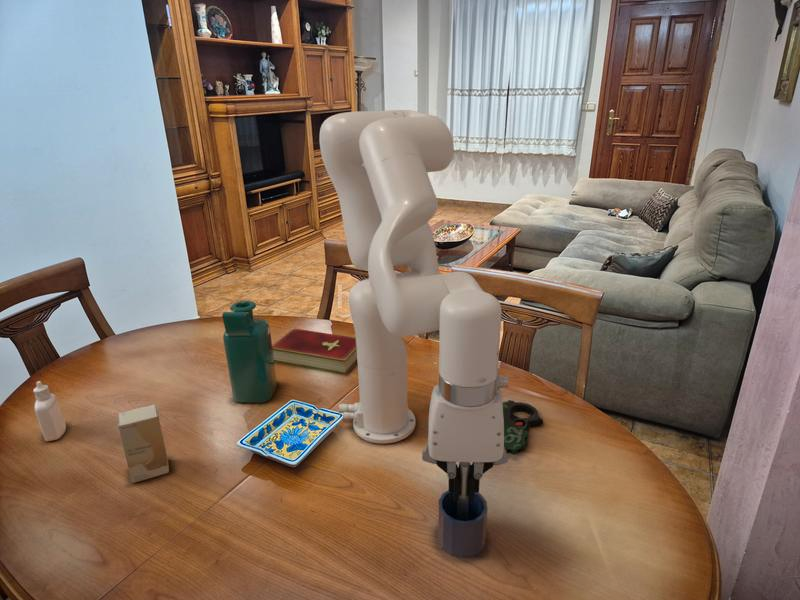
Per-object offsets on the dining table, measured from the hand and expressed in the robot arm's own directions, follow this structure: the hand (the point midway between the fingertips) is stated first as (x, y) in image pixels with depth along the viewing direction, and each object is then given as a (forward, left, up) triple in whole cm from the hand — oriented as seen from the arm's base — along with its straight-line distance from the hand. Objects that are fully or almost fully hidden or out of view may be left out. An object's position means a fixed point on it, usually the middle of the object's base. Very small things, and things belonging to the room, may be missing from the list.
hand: (463, 493), depth 74 cm
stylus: (0, 0, -8) cm, 8 cm away
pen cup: (0, 0, -9) cm, 9 cm away
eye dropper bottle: (-80, +23, -9) cm, 84 cm away
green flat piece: (+12, +27, -9) cm, 31 cm away
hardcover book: (-33, +56, -9) cm, 65 cm away
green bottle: (-44, +38, -9) cm, 59 cm away
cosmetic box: (-55, +13, -9) cm, 57 cm away
